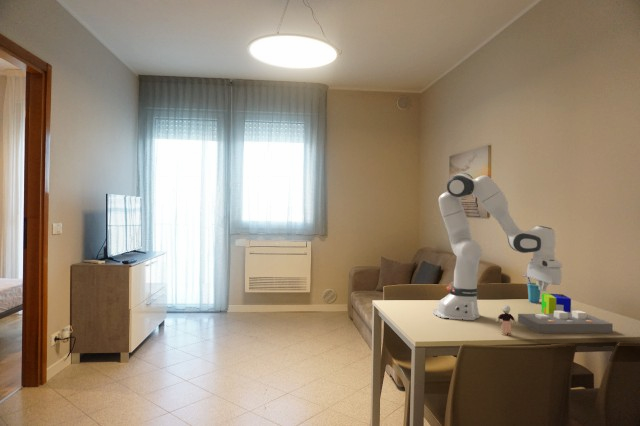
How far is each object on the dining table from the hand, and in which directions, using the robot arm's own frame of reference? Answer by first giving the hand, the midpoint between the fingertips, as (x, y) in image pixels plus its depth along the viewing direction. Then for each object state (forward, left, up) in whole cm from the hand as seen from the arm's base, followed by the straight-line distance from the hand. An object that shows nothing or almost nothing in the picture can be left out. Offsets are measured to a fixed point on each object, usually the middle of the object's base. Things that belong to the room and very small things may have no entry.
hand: (542, 290), depth 182 cm
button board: (+9, -2, -17) cm, 19 cm away
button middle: (+9, 0, -13) cm, 16 cm away
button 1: (0, 0, -14) cm, 14 cm away
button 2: (+18, 0, -13) cm, 22 cm away
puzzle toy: (+19, +18, -17) cm, 31 cm away
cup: (+24, +46, -17) cm, 54 cm away
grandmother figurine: (-24, -12, -17) cm, 32 cm away
